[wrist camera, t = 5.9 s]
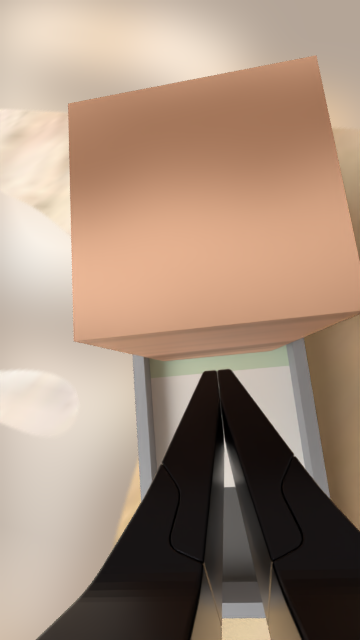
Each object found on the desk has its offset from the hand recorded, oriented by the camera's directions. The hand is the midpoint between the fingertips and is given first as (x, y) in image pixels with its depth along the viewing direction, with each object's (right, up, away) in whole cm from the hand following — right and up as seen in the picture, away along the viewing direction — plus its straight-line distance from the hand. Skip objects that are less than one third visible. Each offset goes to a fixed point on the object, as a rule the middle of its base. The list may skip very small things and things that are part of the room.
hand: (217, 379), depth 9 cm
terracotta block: (+1, +3, +9) cm, 9 cm away
